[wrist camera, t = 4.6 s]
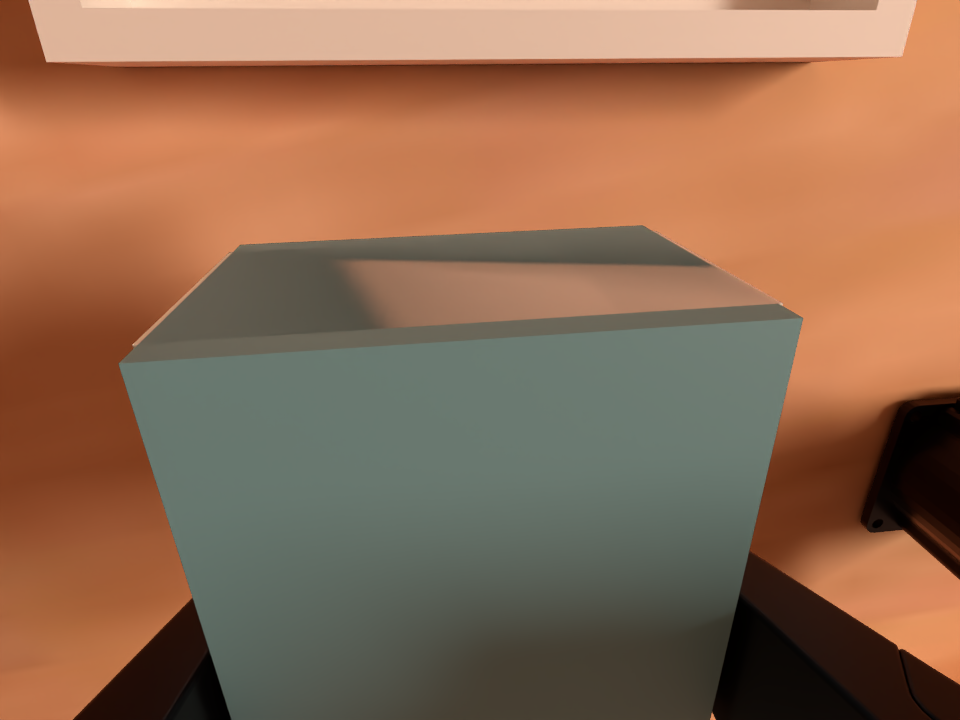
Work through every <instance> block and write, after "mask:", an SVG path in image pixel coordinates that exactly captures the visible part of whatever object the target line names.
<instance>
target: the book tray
mask: <svg viewBox="0 0 960 720" xmlns="http://www.w3.org/2000/svg"><path fill="white" fill-rule="evenodd" d="M28 1H29V4H30V8H31V11H32V15H33V18H34V21H35V25H36V28H37V32H38V35H39V39H40V42H41V45H42V49H43V52H44V56H45V59H46V62H54V63H69V64H84V65H99V66H113V67H163V66H307V65H450V64H594V63H738V62H821V61H838V60H856V59H873V58H890V57H902V55H903V51H904V47H905V44H906V40H907V36H908V32H909V29H910V25H911V21H912V17H913V14H914V10H915V6H916V2H917V0H28Z"/></svg>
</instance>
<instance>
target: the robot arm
mask: <svg viewBox="0 0 960 720" xmlns="http://www.w3.org/2000/svg"><path fill="white" fill-rule="evenodd" d="M860 522H861V524H862V525H863V526H864V527H865V528H866V529H867V530H868V531H869V532H874V533H875V532H885V531H895V530H904V531H905V532H906V533H907V534H909V535H910V536H911V537H912V538H913V539H914V540H915V541H916V542H918V543H919V544H920V545H921V546H922V547H923V548H924V549H926V550H927V551H928V552H929V553H930V554H931V555H932V556H933V557H935V558H936V559H937V560H938V561H939V562H940V563H941V564H943V565H944V566H945V567H946V568H947V569H948V570H949V571H950V572H952V573H953V574H954V575H955V576H956V577H957V578H958V579H959V580H960V397H956V398H943V399H929V400H916V401H909V402H907V403H905V404H903V405H902V406H901V407H900V408H899V410H898V412H897V414H896V417H895V420H894V423H893V426H892V429H891V432H890V435H889V438H888V441H887V444H886V446H885V449H884V452H883V455H882V458H881V461H880V464H879V467H878V470H877V473H876V476H875V479H874V482H873V484H872V487H871V490H870V493H869V496H868V499H867V502H866V505H865V508H864V511H863V514H862V517H861V521H860ZM712 712H713V714H714V717H715V719H716V720H960V685H959V684H958V683H956V682H954V681H953V680H951V679H950V678H948V677H946V676H945V675H943V674H942V673H940V672H938V671H937V670H935V669H933V668H932V667H930V666H929V665H927V664H926V663H924V662H922V661H921V660H919V659H918V658H916V657H915V656H913V655H912V654H910V653H908V652H907V651H905V650H903V649H900V650H899V649H898V647H897V645H896V644H894V643H893V642H891V641H889V640H888V639H886V638H885V637H883V636H882V635H880V634H878V633H877V632H875V631H874V630H872V629H871V628H869V627H868V626H866V625H864V624H863V623H861V622H860V621H858V620H857V619H855V618H853V617H852V616H850V615H849V614H847V613H846V612H844V611H843V610H841V609H839V608H838V607H836V606H835V605H833V604H832V603H830V602H829V601H827V600H825V599H824V598H822V597H821V596H819V595H818V594H816V593H814V592H813V591H811V590H810V589H808V588H807V587H805V586H804V585H802V584H800V583H799V582H797V581H796V580H794V579H793V578H791V577H790V576H788V575H786V574H785V573H783V572H782V571H780V570H779V569H777V568H775V567H774V566H772V565H771V564H769V563H768V562H766V561H765V560H763V559H761V558H760V557H758V556H757V555H755V554H754V553H752V552H750V551H749V554H748V558H747V563H746V567H745V571H744V576H743V580H742V584H741V588H740V593H739V597H738V601H737V606H736V610H735V614H734V619H733V623H732V627H731V632H730V636H729V640H728V644H727V649H726V653H725V657H724V662H723V666H722V670H721V675H720V679H719V683H718V688H717V692H716V696H715V701H714V705H713V709H712ZM73 720H231V717H230V714H229V710H228V707H227V704H226V701H225V698H224V695H223V692H222V688H221V685H220V682H219V679H218V676H217V673H216V669H215V666H214V663H213V660H212V657H211V654H210V651H209V647H208V644H207V641H206V638H205V635H204V632H203V629H202V625H201V622H200V619H199V616H198V613H197V610H196V607H195V603H194V600H193V598H192V599H191V600H190V601H189V602H188V603H187V604H186V605H185V606H184V607H183V608H182V609H181V610H180V611H179V612H178V613H177V614H176V615H175V616H174V617H173V618H172V619H171V620H170V621H169V622H168V623H167V624H166V625H165V626H164V627H163V628H162V629H161V630H160V631H159V632H158V633H157V634H156V635H155V636H154V638H153V639H152V640H151V641H150V642H149V643H148V644H147V645H146V646H145V647H144V648H143V649H142V650H141V651H140V652H139V653H138V654H137V655H136V656H135V657H134V658H133V659H132V660H131V661H130V662H129V663H128V664H127V665H126V666H125V667H124V668H123V669H122V670H121V671H120V672H119V673H118V674H117V675H116V676H115V677H114V678H113V679H112V680H111V681H110V682H109V683H108V684H107V685H106V686H105V687H104V688H103V689H102V690H101V691H100V693H99V694H98V695H97V696H96V697H95V698H94V699H93V700H92V701H91V702H90V703H89V704H88V705H87V706H86V707H85V708H84V709H83V710H82V711H81V712H80V713H79V714H78V715H77V716H76V717H75V718H74V719H73Z"/></svg>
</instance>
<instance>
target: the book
mask: <svg viewBox="0 0 960 720" xmlns="http://www.w3.org/2000/svg"><path fill="white" fill-rule="evenodd" d="M782 305H783V303H782V302H780V301H778V300H776V299H774V298H773V297H771V296H769V295H767V294H766V293H764V292H762V291H760V290H759V289H757V288H755V287H753V286H752V285H750V284H748V283H746V282H745V281H743V280H741V279H739V278H738V277H736V276H734V275H732V274H731V273H729V272H727V271H725V270H724V269H722V268H720V267H718V266H717V265H715V264H713V263H711V262H709V261H708V260H706V259H704V258H702V257H701V256H699V255H697V254H695V253H694V252H692V251H690V250H688V249H687V248H685V247H683V246H681V245H680V244H678V243H676V242H674V241H673V240H671V239H669V238H667V237H666V236H664V235H662V234H660V233H659V232H657V231H652V230H650V229H648V228H646V227H645V226H643V225H640V226H620V227H599V228H578V229H558V230H537V231H516V232H495V233H475V234H454V235H433V236H412V237H392V238H371V239H350V240H329V241H309V242H288V243H267V244H246V245H240V246H239V247H238V248H237V249H236V250H235V251H234V252H229V253H228V254H227V255H226V256H225V257H224V258H223V259H222V260H221V261H220V262H218V263H217V264H216V265H215V266H214V267H213V268H212V269H211V270H210V271H209V272H208V273H207V274H206V275H205V276H204V277H203V278H202V279H201V280H200V281H199V282H197V283H196V284H195V285H194V286H193V287H192V288H191V289H190V290H189V291H188V292H187V293H186V294H185V295H184V296H183V297H182V298H181V299H180V300H179V301H178V302H177V303H175V304H174V305H173V306H172V307H171V308H170V309H169V310H168V311H167V312H166V313H165V314H164V315H163V316H162V317H161V318H160V319H159V320H158V321H157V322H156V323H154V324H153V325H152V326H151V327H150V328H149V329H148V330H147V331H146V332H145V333H144V334H143V335H142V336H141V337H140V338H139V339H138V340H137V341H136V342H135V343H133V344H132V345H133V350H132V351H131V352H130V353H129V354H128V355H127V356H126V357H125V358H124V359H123V360H122V361H121V362H120V363H118V364H119V367H120V370H121V373H122V377H123V380H124V383H125V386H126V389H127V392H128V395H129V399H130V402H131V405H132V408H133V411H134V414H135V418H136V421H137V424H138V427H139V430H140V433H141V436H142V440H143V443H144V446H145V449H146V452H147V455H148V458H149V462H150V465H151V468H152V471H153V474H154V477H155V481H156V484H157V487H158V490H159V493H160V496H161V499H162V503H163V506H164V509H165V512H166V515H167V518H168V521H169V525H170V528H171V531H172V534H173V537H174V540H175V544H176V547H177V550H178V553H179V556H180V559H181V562H182V566H183V569H184V572H185V575H186V578H187V581H188V584H189V588H190V591H191V594H192V597H193V600H194V603H195V607H196V610H197V613H198V616H199V619H200V622H201V625H202V629H203V632H204V635H205V638H206V641H207V644H208V647H209V651H210V654H211V657H212V660H213V663H214V666H215V669H216V673H217V676H218V679H219V682H220V685H221V688H222V692H223V695H224V698H225V701H226V704H227V707H228V710H229V714H230V717H231V720H710V718H711V713H712V709H713V705H714V701H715V696H716V692H717V688H718V683H719V679H720V675H721V670H722V666H723V662H724V657H725V653H726V649H727V644H728V640H729V636H730V632H731V627H732V623H733V619H734V614H735V610H736V606H737V601H738V597H739V593H740V588H741V584H742V580H743V576H744V571H745V567H746V563H747V558H748V554H749V550H750V545H751V541H752V537H753V532H754V528H755V524H756V519H757V515H758V511H759V507H760V502H761V498H762V494H763V489H764V485H765V481H766V476H767V472H768V468H769V463H770V459H771V455H772V450H773V446H774V442H775V438H776V433H777V429H778V425H779V420H780V416H781V412H782V407H783V403H784V399H785V394H786V390H787V386H788V381H789V377H790V373H791V369H792V364H793V360H794V356H795V351H796V347H797V343H798V338H799V334H800V330H801V325H802V321H803V318H802V317H800V316H799V315H797V314H795V313H794V312H792V311H790V310H788V309H787V308H785V307H783V306H782Z"/></svg>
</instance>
